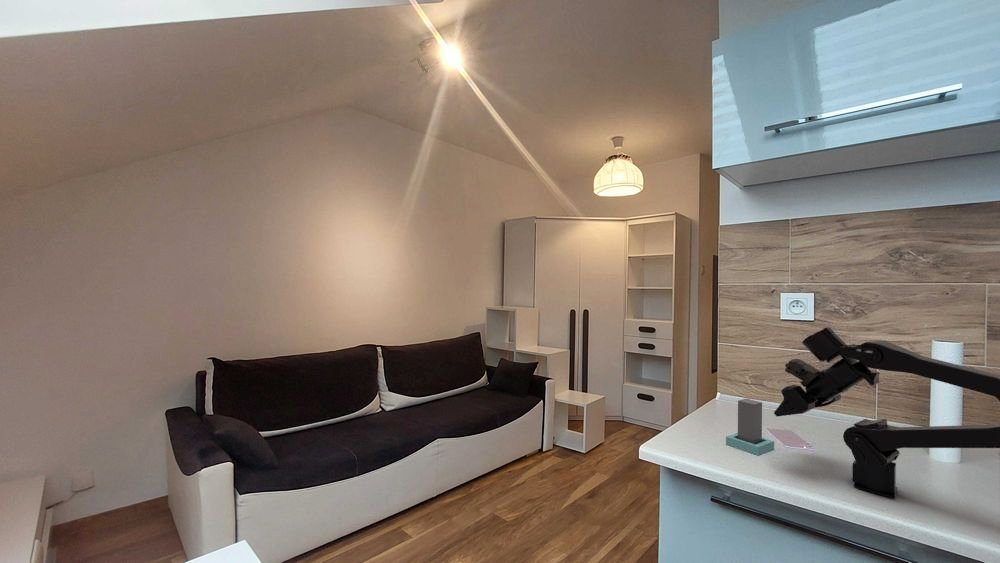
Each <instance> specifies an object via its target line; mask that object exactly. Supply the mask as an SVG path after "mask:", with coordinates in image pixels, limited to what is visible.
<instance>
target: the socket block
mask: <svg viewBox="0 0 1000 563" xmlns="http://www.w3.org/2000/svg"><path fill="white" fill-rule="evenodd" d="M725 445H727V446H729V447H731V448H736V449H738V450H741V451H744V452H747V453H749V454H753V455H756V456H760V455H763V454H765V453H768V452H770V451H772V450H774V449H775V440H772V439H769V438H765V437H763V436H762V442H761V443H759V444H756V445H755V444H752V443H749V442H746V441H743V440H740V439H738V432H736V433H733V434H730V435H726V436H725Z"/></svg>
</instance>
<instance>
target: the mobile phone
mask: <svg viewBox="0 0 1000 563" xmlns="http://www.w3.org/2000/svg"><path fill="white" fill-rule="evenodd" d="M765 431H766V432H767V433H768V434H769V435H770V436H771V437H772V438H773V439H774V440H776V441H777V442H778V443H779V444H780V445H781V446H782V447H783V448H786V449H790V450H801V451H811V452H814V451H816V448H815V447H814V446H813V445H812V444H810V443H809V442H807V441H806V440H805V439H803V438H802V437H801V436H799V435H798V434H797V433H795V432H794V431H793V430H788V429H779V428H767V427H766V428H765Z"/></svg>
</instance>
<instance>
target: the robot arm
mask: <svg viewBox="0 0 1000 563" xmlns="http://www.w3.org/2000/svg"><path fill="white" fill-rule="evenodd" d="M801 344H802V345H803V346H804V347H805V348H806V349H807V350H808V351H809V352H810V353H811V354H812V355H813V356H814V357H815V358H816V359H817V360H818V361H819V362H820V363H822V362H826V363H827V364H831V363H833V362H835V361H836V362H835V363H833V364H831V365H830V366H829V367H827V368H825V369H823V370H819V369H817V368H816V367H814V366H813V365H811V364H809V363H807V362H805V361H804V360H802V359H800V358H793V359H790V360H789V361H788V363H786V364H785V366H784V367H785V369H784V372H786V373H788V374H790V375H792V376H794V377H795V378H796V379H799V380H800V382H799V383H800V384H801V385H802V386H801V385H797V384H791V385H787V386H785V387H783V388H782V389H781V390H780V392H781V395H782V396H783V400H782V401H781V402H780V404H779V405H778V406H777V407H776V409H775V410H774V411H773V414H774V415H775V417H786V416H793V415H802V414H805V413H808V412H809V411H811V410H813V409H816V408H822V407H828V406H830V405H832V404H835V403H837V402H838V401H841V398H842V394H845V393H846V392H848V391H849V389H851V388H852V387H854V386H856V385H857V384H860V383H861V382H862V381H866V382H867V383H868V384H870V385H871V386H876V385H878V384H880V378H879V377H880V374H881V373H880V372H879V371H873V370H871V369H875V370H882V371H888V372H898V373H906V374H912V375H916V376H920V377H924V378H927V379H931V380H934V381H937V382H941V383H944V384H949V385H951V386H954V387H959V388H963V389H967V390H970V391H974V392H978V393H979V394H980V393H981V394H984V395H988V396H992V397H995V398H996V399H997V400H998V401H999V402H1000V374H997V373H991V372H989V371H984V370H980V369H977V368H976V369H975V368H973V367H969V366H964V365H960V364H956V363H953V362H947V361H944V360H939V359H937V358H932V357H927V356H924V355H920V354H919V353H916V352H913V351H911V350H909V349H907V348H905V347H903V346H899V345H897V344H895V343H892V342H889V341H888V340H887V341H886V340H882V339H880V340H872V341H867V342H863V343H861V344H856V343H853V344H852V343H851V344H847V343H846V342H844V340H842V339H841V338H840V337H839V336H838V334H836V332H835V331H834V330H833V329H832V328H831V327H829V326H828V327H824V328H823V329H821V330H819V331H817V332H815V333H813V334H810V335H808V336H807V337H806V338H804V339H803V340H802V342H801ZM839 358H841V359H839ZM838 359H839V360H838ZM803 387H804V388H803ZM842 436H843V442H844V443H845V446H847V447H848V448H849V449H850V451H851V454H852V456H853V459H854V461H853V462H852V471H851V472H852V476H851V478H852V482H853V483H854V484H853V487H854V488H856V489H859V490H863V491H865V492H869V493H873V494H876V495H880V496H883V497H886V498H890V499H896V495H897V492H898V487H897V484H896V483H897V462H895V461H896V460H898V457H899V456H900V454H901V452H900V450H899V449H1000V423H996V424H975V425H974V424H973V425H972V424H971V425H939V426H938V425H937V426H936V425H934V426H929V425H928V426H902V427H901V426H895V425H891V424H888V420H887V418H881V419H875V420H874V419H871V420H870V419H867V418H865V419H862V420H860V421H858V422H855V423H854V424H853V426H850V427H847V428H846V429H845V430H844V432H843V434H842Z"/></svg>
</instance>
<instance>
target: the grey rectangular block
mask: <svg viewBox="0 0 1000 563" xmlns="http://www.w3.org/2000/svg"><path fill="white" fill-rule="evenodd" d="M762 430H763V401H758V400H754V399H750V398H743V399H742V398H741V399H739V400H737V433H738V439H740V440H743V441H746V442H749V443H752V444H755V445H756V444H759V443H761V442H762V437H763V436H762V435H763V433H762Z"/></svg>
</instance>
